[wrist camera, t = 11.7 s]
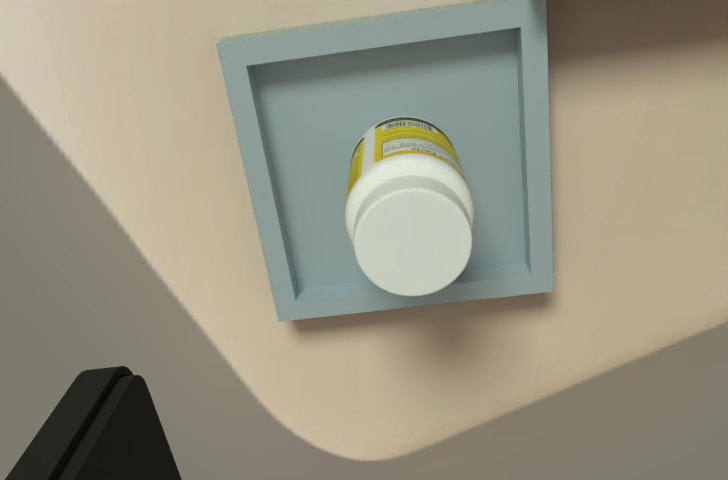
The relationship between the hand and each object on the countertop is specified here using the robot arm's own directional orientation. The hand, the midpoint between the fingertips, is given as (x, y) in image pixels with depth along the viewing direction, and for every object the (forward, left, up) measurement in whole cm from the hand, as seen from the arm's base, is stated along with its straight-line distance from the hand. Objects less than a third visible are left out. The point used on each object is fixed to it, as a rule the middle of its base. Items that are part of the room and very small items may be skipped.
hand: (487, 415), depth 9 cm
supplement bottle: (+1, +3, -21) cm, 22 cm away
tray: (+1, +3, -22) cm, 22 cm away
